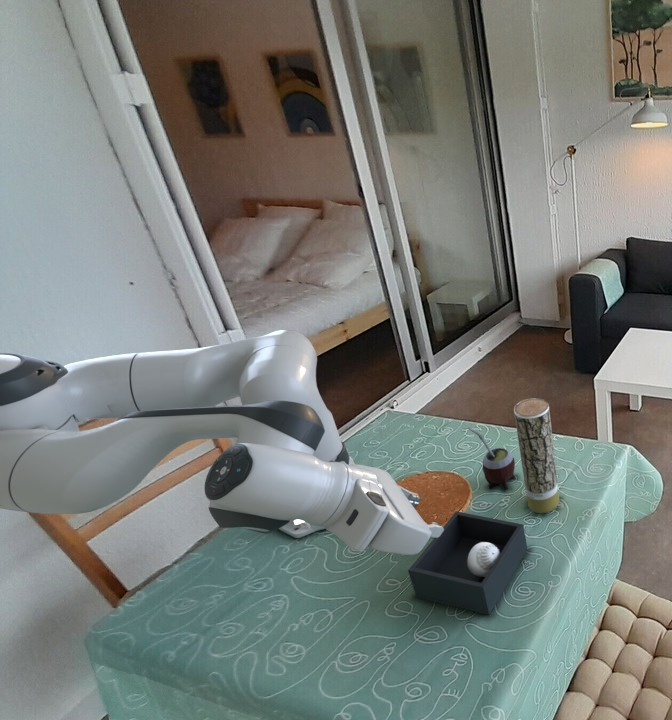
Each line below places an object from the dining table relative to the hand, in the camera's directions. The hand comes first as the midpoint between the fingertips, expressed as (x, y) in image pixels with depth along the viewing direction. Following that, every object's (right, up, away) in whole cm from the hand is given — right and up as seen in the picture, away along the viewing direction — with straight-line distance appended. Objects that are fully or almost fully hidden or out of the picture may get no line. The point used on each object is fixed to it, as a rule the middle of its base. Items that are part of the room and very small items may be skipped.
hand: (428, 515), depth 83 cm
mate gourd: (+2, -3, +33) cm, 34 cm away
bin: (+4, -14, +11) cm, 18 cm away
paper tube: (+14, -6, +27) cm, 31 cm away
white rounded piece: (+5, -12, +10) cm, 16 cm away
